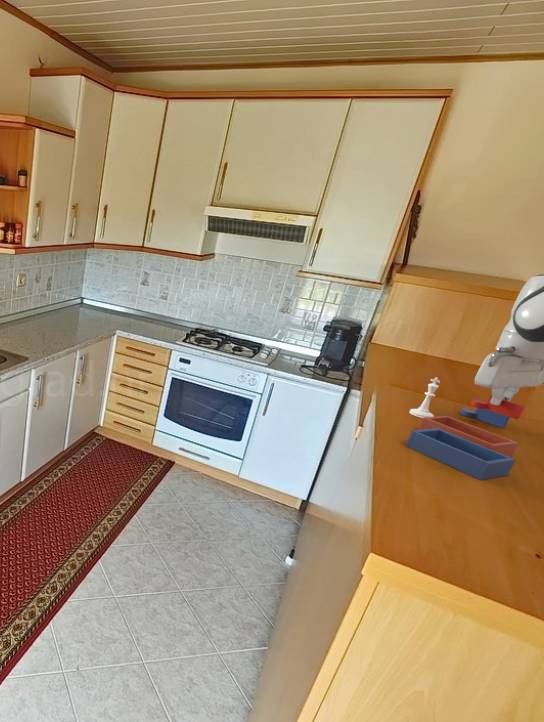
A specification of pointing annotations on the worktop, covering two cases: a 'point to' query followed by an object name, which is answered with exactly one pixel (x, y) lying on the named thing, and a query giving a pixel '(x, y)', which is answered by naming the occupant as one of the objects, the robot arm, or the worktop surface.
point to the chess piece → (426, 401)
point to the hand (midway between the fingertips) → (498, 404)
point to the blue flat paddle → (487, 416)
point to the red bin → (470, 434)
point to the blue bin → (460, 453)
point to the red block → (500, 407)
